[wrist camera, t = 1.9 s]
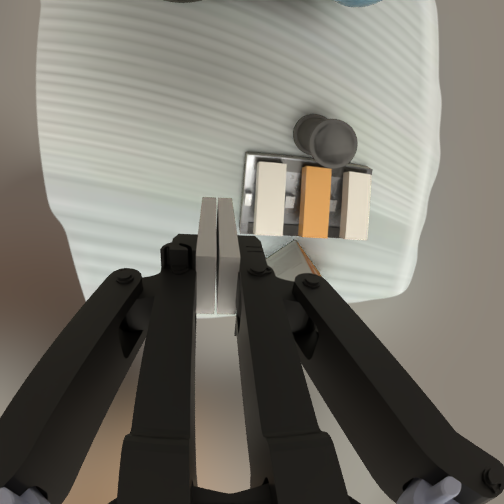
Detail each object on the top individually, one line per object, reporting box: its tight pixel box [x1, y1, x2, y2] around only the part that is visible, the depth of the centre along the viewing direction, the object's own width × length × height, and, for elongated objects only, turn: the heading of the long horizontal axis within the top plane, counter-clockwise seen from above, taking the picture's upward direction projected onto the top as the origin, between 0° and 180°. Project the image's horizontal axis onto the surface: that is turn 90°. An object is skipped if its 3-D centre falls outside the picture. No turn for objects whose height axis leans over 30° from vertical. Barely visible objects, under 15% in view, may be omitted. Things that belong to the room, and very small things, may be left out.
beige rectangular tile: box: [339, 171, 371, 240], centre depth 39 cm, size 9×3×2 cm, turn 174°
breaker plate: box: [239, 152, 373, 238], centre depth 41 cm, size 11×18×4 cm, turn 84°
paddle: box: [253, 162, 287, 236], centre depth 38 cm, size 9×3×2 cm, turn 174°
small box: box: [266, 240, 322, 281], centre depth 43 cm, size 8×6×13 cm
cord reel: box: [293, 114, 357, 168], centre depth 35 cm, size 6×6×8 cm
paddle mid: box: [298, 166, 332, 238], centre depth 38 cm, size 9×3×2 cm, turn 174°
